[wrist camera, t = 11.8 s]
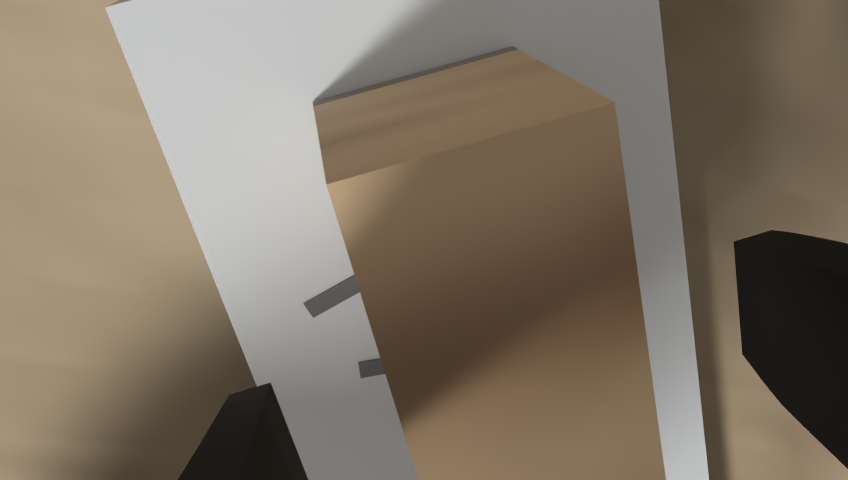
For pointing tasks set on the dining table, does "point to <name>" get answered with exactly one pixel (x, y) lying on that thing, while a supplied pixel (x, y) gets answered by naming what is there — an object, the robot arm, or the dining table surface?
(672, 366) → the board
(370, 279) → the block
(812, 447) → the dining table surface
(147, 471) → the dining table surface
